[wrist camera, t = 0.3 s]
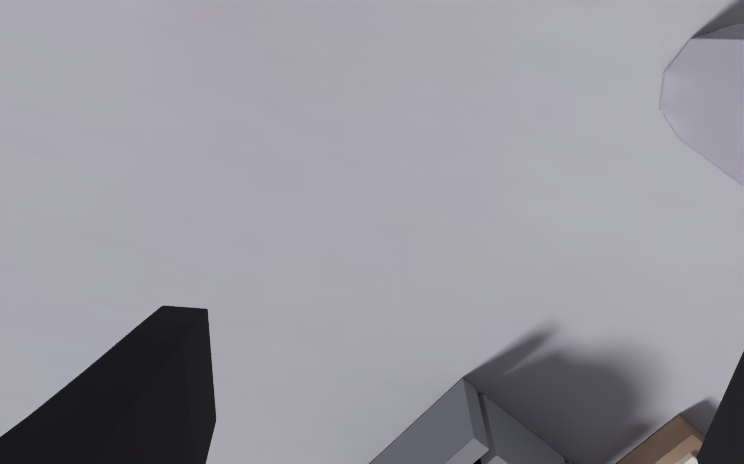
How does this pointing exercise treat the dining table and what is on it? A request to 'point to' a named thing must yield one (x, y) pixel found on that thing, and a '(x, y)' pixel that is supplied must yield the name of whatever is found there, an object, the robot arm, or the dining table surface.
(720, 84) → the milkshake
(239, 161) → the dining table surface
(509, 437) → the button housing
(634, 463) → the brown flat wooden board
